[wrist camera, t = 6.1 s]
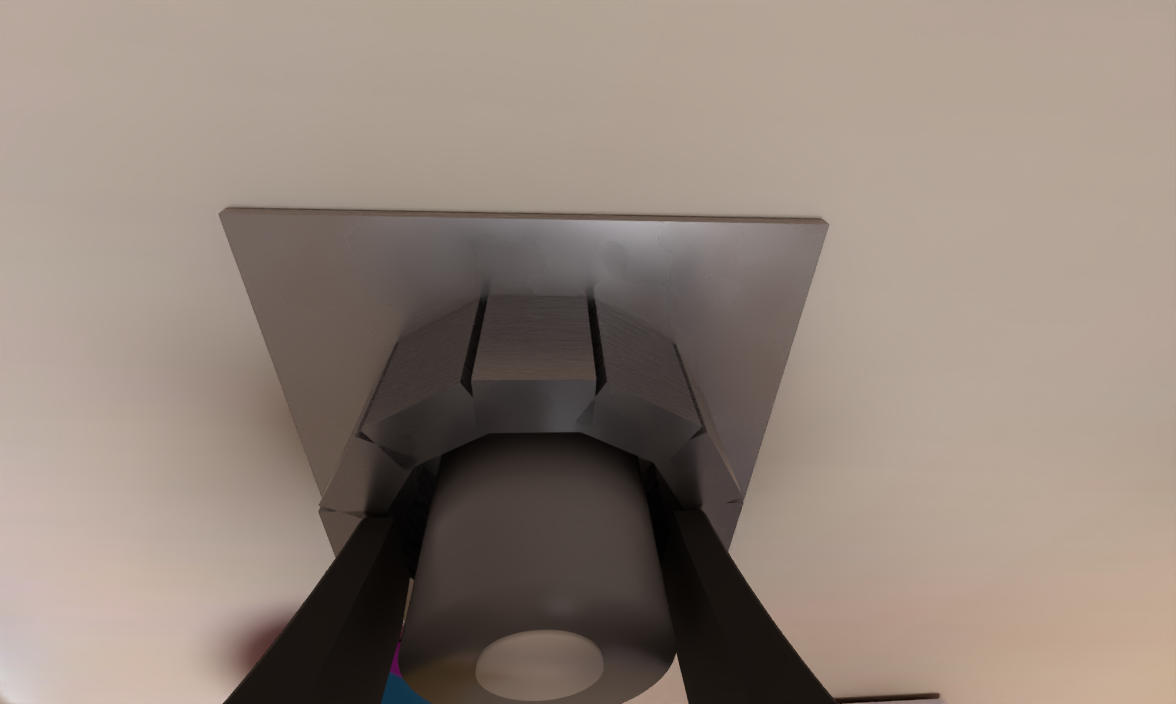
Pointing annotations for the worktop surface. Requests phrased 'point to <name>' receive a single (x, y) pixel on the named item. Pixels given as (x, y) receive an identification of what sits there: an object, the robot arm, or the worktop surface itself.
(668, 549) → the robot arm
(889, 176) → the worktop surface
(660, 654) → the cap
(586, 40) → the worktop surface
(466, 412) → the gray square plate
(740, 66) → the worktop surface
